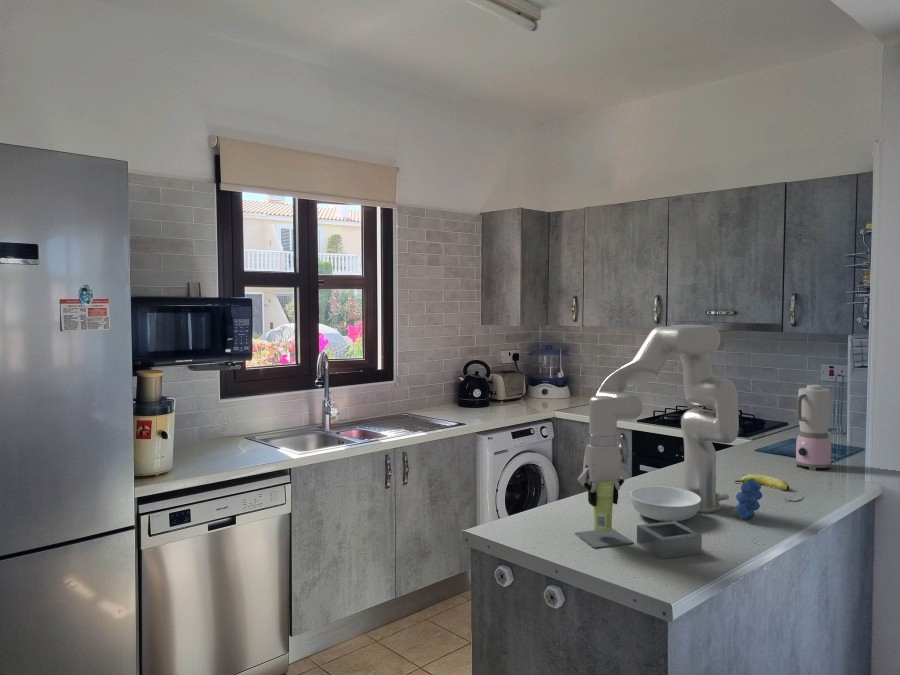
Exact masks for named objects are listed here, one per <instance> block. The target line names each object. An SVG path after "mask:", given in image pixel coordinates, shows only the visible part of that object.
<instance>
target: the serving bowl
mask: <svg viewBox="0 0 900 675" xmlns="http://www.w3.org/2000/svg"><path fill="white" fill-rule="evenodd" d="M629 497H630V501H631V504H632V507H633V508H634V510H636V511H637V513H639V514H640V515H642V516H644V517H646V518H648V519H652V520H655V521H658V522H670V521H676V522H681V521H687V520H689V519H691V518H692V517H695V515H697V513H699V512H698V510H699V508H700V505H701V498H700V496H698V495H697V494H695V493H693V492H690V491H687V490H684V489H683V488H680V487H679V488H678V487H672V486H663V485H662V486H661V485H660V486H659V485H658V486H656V485H655V486H654V485H653V486H651V485H650V486H643V487H638V488H635V489H632V490H631V491H630V493H629Z"/></svg>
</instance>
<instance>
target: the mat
mask: <svg viewBox="0 0 900 675" xmlns="http://www.w3.org/2000/svg"><path fill="white" fill-rule="evenodd" d="M574 533H575V534H576V535H578V536H579V537H580V538H582V539H583V540H584V541H586V542H587V543H588V544H587V543H586V542H585V543H586V544H587V545H589V544H590V545H591V546H592V547H591V546H590V545H589V546H590V547H591V548H593V547H594V548H595V549H598V548H597V547H603V548H608V547H607V546H611V547H617V545H619V546H626V544H627V545H634V541H633V540H632V539H630V538H628V537H627V536H625V535H624V534H622V533H620V532H618V531H617V530H615V529H614V528H612V530H611V531H609V532H599V531H596V530H594V529H593V530H587V531H577V532H574ZM575 534H574V535H575ZM576 535H575V536H576ZM578 536H577V537H578ZM579 537H578V538H579ZM580 538H579V539H580ZM582 539H581V540H582ZM583 540H582V541H583ZM584 541H583V542H584ZM594 548H593V549H594Z"/></svg>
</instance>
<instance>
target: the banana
mask: <svg viewBox="0 0 900 675" xmlns="http://www.w3.org/2000/svg"><path fill="white" fill-rule="evenodd" d="M752 478H753V479H754V480H755V481H757V482H759V483H760V484H761V486H763V485H767V486H766V487H768V486H771V487H770V488H772V487H775V488H774V489H776V488H778V489H777V490H779V489H781V490H780V491H787V490H789V489H790V486H789V484H788V483H787V482H786V481H785V480H783V479H780V478H778V477H776V476H775V477H774V476H769V475H764V474H756V473H753V474H746V475H743V477H742V478H741V479H739V480H734V483H735V482H747V481H748V480H749V479H752ZM803 492H804V491H803ZM805 492H806V491H805ZM805 492H804V493H805ZM804 493H803V494H804Z"/></svg>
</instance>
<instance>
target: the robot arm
mask: <svg viewBox="0 0 900 675" xmlns="http://www.w3.org/2000/svg"><path fill="white" fill-rule="evenodd" d="M720 344H721V334H720V332H719V330H718V329H717V328H716V327H715V326H713V325H709V324H708V325H707V324H684V323H683V324H672V325H668V326H666V325H664V326H656V327H654V328H653V329H652V330H651V331H650V332H649V334H648V335H647V337H646V338H645V340H644V341H643V343H642V345H641V346H640V348H639V349H638V351H637V352H636V353H635V355H634V357H633V359H631V361H629V362H628V363H626V364H625V365H622V366H621V367H620V368H618V369H617V370H615V371H613V372H612V373H611V374H610V375H609V376H607V377H606V379H605V380H604V381H603V382H602V383H601V385H600V386H599V388H598V390H597V391H596V394H595V395H594V396H592V397H590V399H589V402H588V414H589V415H588V417H589V418H588V419H589V420H588V421H589V423H588V425H589V426H588V428H589V430H588V432H589V434H588V435H589V437H588V438H589V441H588V442H589V443H588V444H586V446H585V450H584V454H583V455H584V457H583V464H582V465H583V467H582V468H583V469H582V472H581V473H580V475H579V476H578V477H577V481H578V482H579V483H580V484H581V485H582V486H583V487H584V488H585V489H586V490H587V501H588V504H589V505H591V506H592V507H593V506H594V507H595V506H596V505H597V495H596V492H595V488H596V485H597V482H605V481H614V490H613V504H614V505H618V501H619V491H620V489H621V487H622V485H623V484H624V483H625V482H626V480H627V479H628V478H629V477H630V476H629V474H628V473H627V472H626V471H625V469H624V468H623V465H622V464H623V462H622V454H621V450H620V449H621V448H620V445H619V444H618V441H620V440H621V439H622V438H621V435H620V434H618V433H617V432H618V428H617V427H618V424H617V423H618V421H622V422H625V421H627V422H629V421H634V420H636V419H638V418H639V417H640V416H641V414H642V411H643V410H644V409H643V408H644V407H643V401H641V399H640V398H639V397H638V396H637V395H634V394H630V393H624V391H625V390H627V389H630V388H631V387H634V386H637V385H641V384H644V383H647V382H650V381H652V380H655V379H656V378H657V377H658V376H659V375H660V373H661V371H662V370H663V368H664V366H665V365H666V363H667V361H668V360H669V359H670V357H671V356H678V357H679V358H680V359H679V360H680V361H681V364H682V372H683V373H682V375H683V391H684V398H685V401H686V402H687V403H688V404H691V405H693V406H699V407H705V408H706V407H707V408H713V409H714V410H712V409H703V408H691V409H688V410H685V412H684V413H683V414H682V416H681V419H680V426H681V432H682V433H681V434H682V437H683V449H684V458H683V459H684V460H683V462H684V465H683V467H684V468H683V469H684V470H683V473H684V474H683V475H684V476H683V478H684V480H683V481H684V482H683V484H684V485H683V488H684V490H687V491H690V492H693V493H695V494H697V495H698V496H700V498H701V505H700V508H699V510H698V512H697V513H703V514H704V513H706V514H707V513H716V512H719V511H720V510H722V504H721V503H720V502H721V501H727V500H729V499H730V496H729V494H728V493H720V492H717V454H716V453H717V452H716V449H715V447H714V445H713V443H720V444H731V443H733V442H735V441H736V439H737V438H738V436H739V430H740V429H739V428H740V424H739V423H740V422H739V421H740V420H739V419H740V418H739V400H738V398H739V397H738V390H737V388H736V385H735V384H734V382H733V381H732V380H731V379H728V378H726V377H718V376H717V377H716V376H714V375H713V370H712V361H711V360H712V359H711V358H710V354H713V353H714V352H716V350H717V349H718V348H719V346H720ZM712 442H713V443H712ZM586 479H587V481H588V482H587V481H586Z"/></svg>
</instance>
